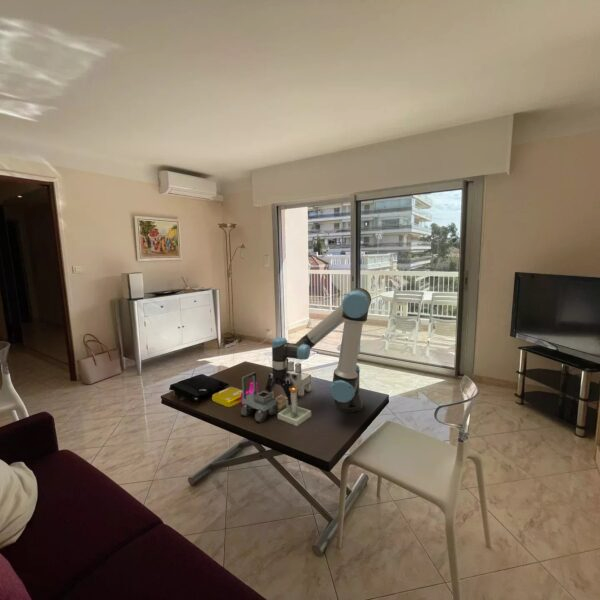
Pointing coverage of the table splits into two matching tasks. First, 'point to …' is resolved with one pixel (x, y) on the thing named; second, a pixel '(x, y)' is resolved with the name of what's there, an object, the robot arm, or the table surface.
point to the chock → (281, 402)
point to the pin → (294, 401)
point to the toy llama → (298, 378)
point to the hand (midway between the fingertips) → (279, 406)
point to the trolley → (257, 401)
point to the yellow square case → (228, 396)
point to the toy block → (249, 391)
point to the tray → (286, 417)
